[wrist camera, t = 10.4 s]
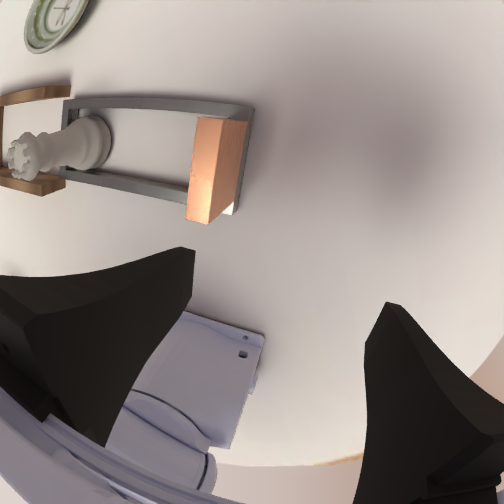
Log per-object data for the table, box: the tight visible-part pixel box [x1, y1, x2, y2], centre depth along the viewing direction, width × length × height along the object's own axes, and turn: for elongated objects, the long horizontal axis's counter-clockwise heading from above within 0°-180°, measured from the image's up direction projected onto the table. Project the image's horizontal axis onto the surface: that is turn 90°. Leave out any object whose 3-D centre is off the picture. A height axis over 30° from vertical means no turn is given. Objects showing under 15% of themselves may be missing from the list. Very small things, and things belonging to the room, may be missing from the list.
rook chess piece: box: [8, 116, 111, 181], centre depth 16 cm, size 4×4×8 cm
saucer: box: [24, 0, 89, 54], centre depth 14 cm, size 10×10×2 cm
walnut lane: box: [0, 86, 71, 197], centre depth 20 cm, size 14×9×3 cm, turn 80°
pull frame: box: [60, 97, 255, 224], centre depth 16 cm, size 16×7×6 cm, turn 80°
